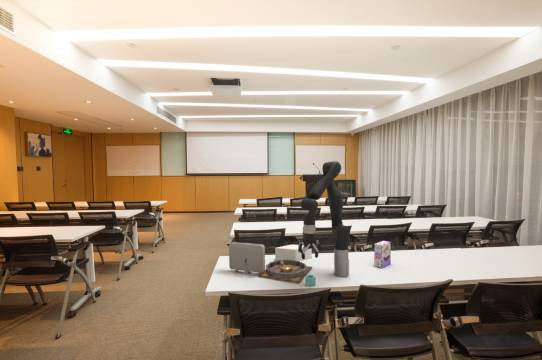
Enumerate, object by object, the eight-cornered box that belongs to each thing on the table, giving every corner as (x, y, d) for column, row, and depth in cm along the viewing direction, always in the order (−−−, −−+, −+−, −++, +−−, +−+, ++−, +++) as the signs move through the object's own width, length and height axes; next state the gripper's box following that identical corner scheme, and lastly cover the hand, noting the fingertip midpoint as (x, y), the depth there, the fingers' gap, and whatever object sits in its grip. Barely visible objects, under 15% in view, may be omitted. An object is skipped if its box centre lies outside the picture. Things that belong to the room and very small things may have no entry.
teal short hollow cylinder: (315, 283, 166) (315, 275, 166) (315, 287, 160) (315, 278, 160) (305, 282, 167) (305, 274, 167) (305, 286, 161) (305, 278, 161)
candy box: (382, 268, 189) (381, 245, 188) (374, 266, 193) (373, 243, 193) (391, 263, 198) (390, 241, 197) (383, 262, 202) (383, 240, 202)
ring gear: (311, 266, 191) (311, 262, 191) (298, 281, 166) (298, 276, 166) (276, 262, 202) (276, 258, 202) (259, 274, 178) (259, 270, 178)
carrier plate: (312, 268, 191) (312, 261, 191) (299, 283, 166) (298, 274, 166) (276, 263, 203) (275, 256, 203) (258, 277, 178) (258, 268, 177)
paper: (314, 261, 206) (314, 248, 206) (276, 264, 203) (276, 250, 203) (309, 256, 221) (309, 243, 220) (274, 258, 217) (274, 245, 217)
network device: (227, 272, 187) (227, 244, 186) (234, 268, 195) (233, 241, 194) (261, 277, 177) (261, 246, 177) (266, 272, 185) (266, 243, 185)
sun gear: (294, 269, 186) (294, 265, 186) (290, 273, 178) (290, 269, 178) (282, 267, 190) (282, 264, 190) (277, 271, 182) (277, 268, 182)
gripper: (316, 229, 169) (317, 255, 169) (296, 231, 164) (296, 258, 165) (323, 231, 162) (323, 258, 162) (301, 234, 157) (302, 261, 157)
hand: (309, 258), depth 163 cm, fingers open, 8 cm apart
